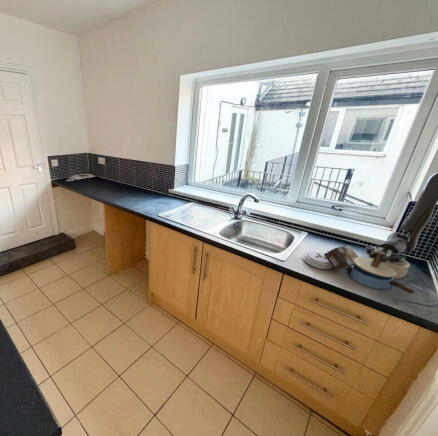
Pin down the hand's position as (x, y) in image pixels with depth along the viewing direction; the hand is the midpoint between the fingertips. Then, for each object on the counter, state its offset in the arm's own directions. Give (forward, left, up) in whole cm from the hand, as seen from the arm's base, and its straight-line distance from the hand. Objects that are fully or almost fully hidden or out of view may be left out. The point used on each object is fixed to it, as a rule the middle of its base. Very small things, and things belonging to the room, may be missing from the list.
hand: (376, 258), depth 104 cm
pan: (-3, -3, -12) cm, 13 cm away
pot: (+3, -19, -12) cm, 23 cm away
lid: (+19, +5, -12) cm, 23 cm away
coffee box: (+13, -8, -7) cm, 17 cm away
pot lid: (+1, -3, -6) cm, 6 cm away
